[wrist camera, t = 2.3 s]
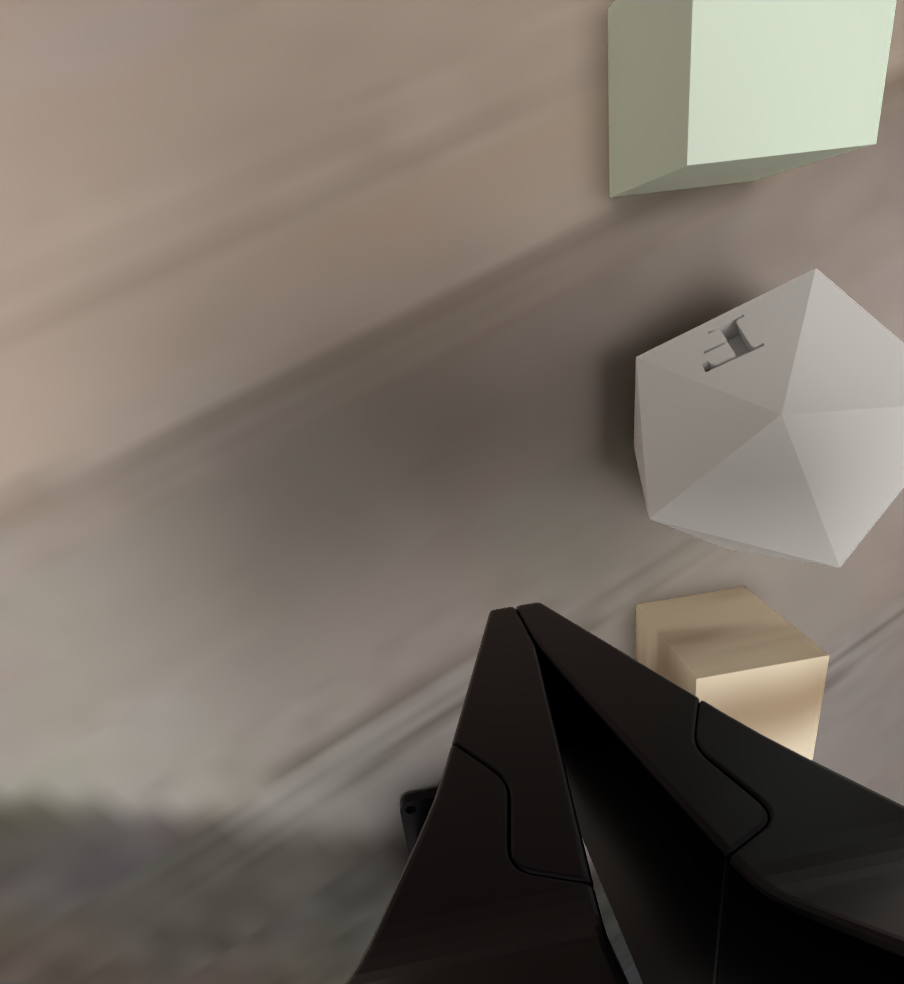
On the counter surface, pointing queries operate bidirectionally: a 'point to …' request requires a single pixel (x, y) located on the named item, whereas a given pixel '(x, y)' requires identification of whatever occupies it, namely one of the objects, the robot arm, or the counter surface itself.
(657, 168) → the sage block
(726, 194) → the counter surface
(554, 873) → the robot arm
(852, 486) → the die
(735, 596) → the birch block
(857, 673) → the counter surface
